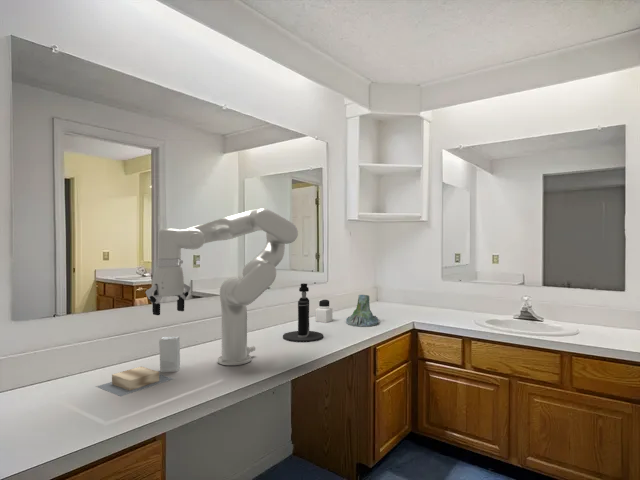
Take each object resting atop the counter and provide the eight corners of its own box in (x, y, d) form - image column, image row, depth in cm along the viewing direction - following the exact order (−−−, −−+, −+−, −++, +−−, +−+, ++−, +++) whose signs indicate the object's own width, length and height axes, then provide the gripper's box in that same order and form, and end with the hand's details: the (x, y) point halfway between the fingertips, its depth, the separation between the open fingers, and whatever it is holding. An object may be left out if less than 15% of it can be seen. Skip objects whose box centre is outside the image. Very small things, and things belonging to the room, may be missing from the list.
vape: (325, 333, 203) (324, 282, 203) (321, 342, 184) (321, 287, 184) (286, 332, 205) (286, 282, 205) (279, 341, 186) (279, 286, 186)
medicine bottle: (332, 320, 234) (332, 299, 234) (326, 322, 228) (326, 301, 228) (322, 319, 238) (321, 298, 238) (315, 321, 232) (315, 300, 232)
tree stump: (340, 326, 221) (341, 293, 226) (351, 328, 239) (352, 297, 243) (373, 327, 214) (373, 292, 219) (382, 329, 232) (383, 297, 236)
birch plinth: (141, 375, 139) (141, 366, 139) (159, 381, 133) (159, 371, 133) (112, 383, 130) (112, 374, 130) (129, 390, 125) (129, 380, 125)
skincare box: (180, 369, 147) (180, 335, 147) (177, 373, 142) (177, 338, 142) (162, 370, 146) (162, 336, 146) (159, 374, 142) (158, 339, 142)
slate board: (148, 373, 143) (148, 371, 143) (173, 381, 135) (173, 378, 135) (95, 389, 128) (95, 386, 128) (120, 398, 120) (120, 396, 120)
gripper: (183, 262, 153) (182, 308, 153) (140, 264, 139) (139, 315, 139) (196, 263, 149) (196, 310, 149) (153, 265, 135) (152, 317, 135)
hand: (168, 312), depth 144 cm, fingers open, 9 cm apart
